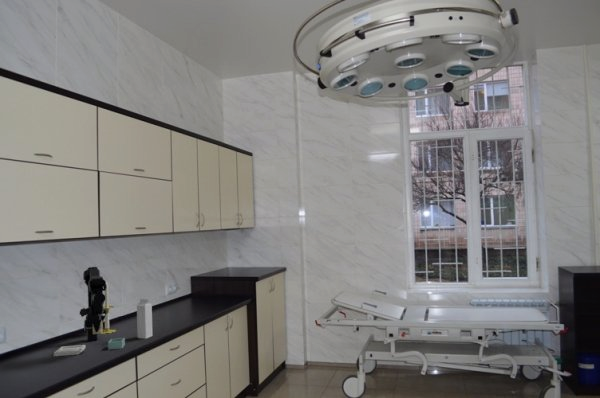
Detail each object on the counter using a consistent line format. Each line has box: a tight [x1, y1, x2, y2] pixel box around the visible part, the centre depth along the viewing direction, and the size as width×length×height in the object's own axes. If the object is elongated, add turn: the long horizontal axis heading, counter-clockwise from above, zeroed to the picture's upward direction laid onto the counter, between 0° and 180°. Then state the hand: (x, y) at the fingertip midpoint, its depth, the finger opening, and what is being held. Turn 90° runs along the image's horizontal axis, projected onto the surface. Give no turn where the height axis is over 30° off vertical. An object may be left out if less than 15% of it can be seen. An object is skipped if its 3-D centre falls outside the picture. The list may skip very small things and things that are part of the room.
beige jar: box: [93, 321, 104, 335], centre depth 244 cm, size 4×4×6 cm
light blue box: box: [107, 337, 126, 351], centre depth 247 cm, size 7×7×4 cm
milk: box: [136, 298, 153, 340], centre depth 267 cm, size 6×6×22 cm
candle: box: [100, 280, 117, 335], centre depth 285 cm, size 10×10×32 cm
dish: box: [53, 344, 86, 357], centre depth 241 cm, size 12×12×2 cm
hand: (97, 330), depth 244 cm, fingers closed on beige jar, 4 cm apart
